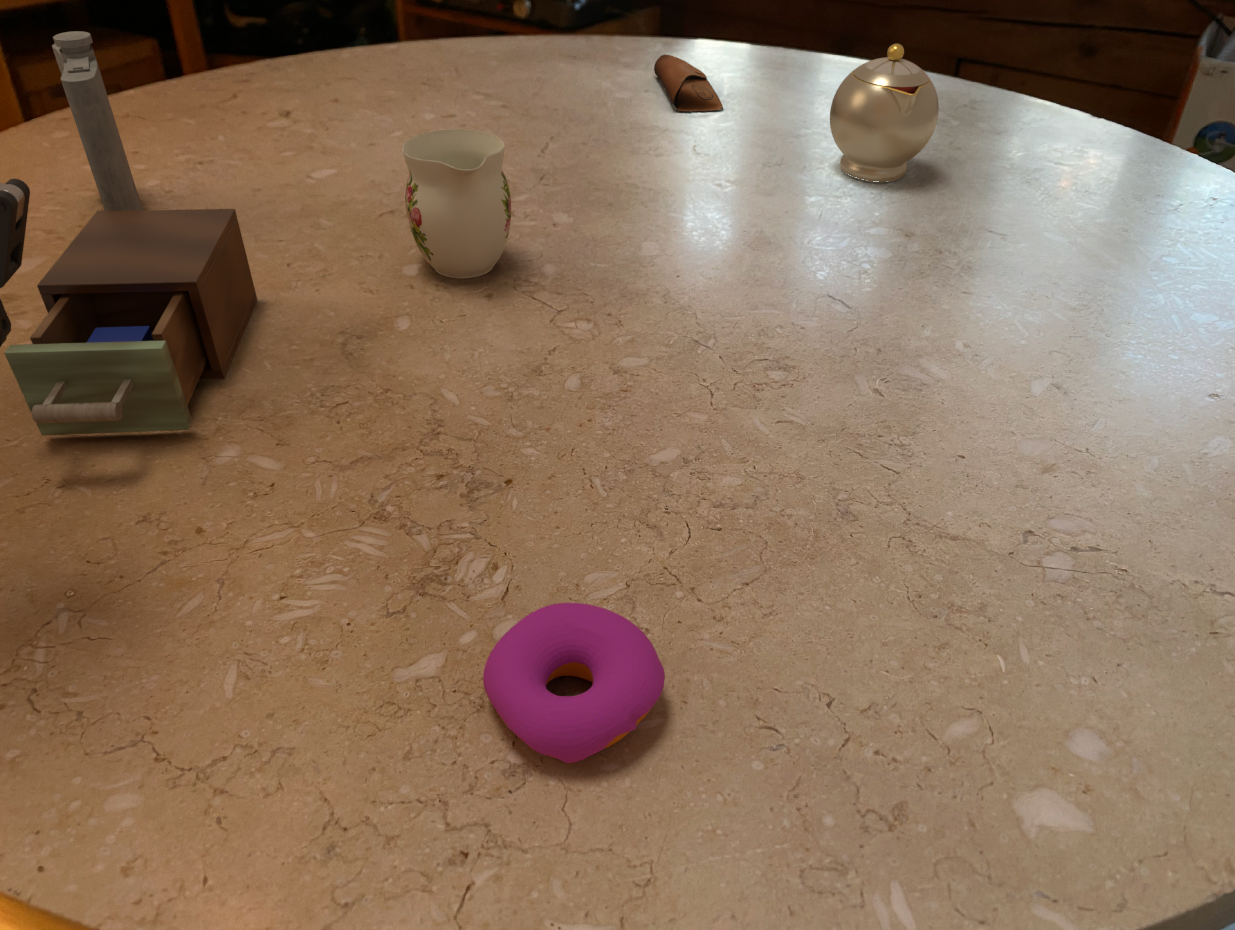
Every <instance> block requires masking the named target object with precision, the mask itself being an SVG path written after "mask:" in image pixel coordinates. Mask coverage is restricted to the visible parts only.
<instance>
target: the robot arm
mask: <svg viewBox="0 0 1235 930" xmlns="http://www.w3.org/2000/svg"><path fill="white" fill-rule="evenodd" d="M30 197H31V190H30V187H29V185H28V184H27V183H26V182H25V181H23V180H22V179H19V178H10V179H9V180H7V181H6V182H5V183H3V182H0V289H2V288H3V287H4V286H5V285H6V284H7V283H8V282H9V281H10V280H11V278H12V277H13V276H14V275H15V274H16V272H17V271H18V270H19V269H20V268H21V266H22V264H23V263H22V262H23V255H24V247H25V246H24V245H25V240H26V231H27V222H28V213H29V207H30V206H29V204H30ZM11 331H12V322H11V320H10V318H9V315H8V313H7V311H6V309H5V306H4V304H3V301H2V299H1V298H0V348H1V347H2V346H3V344H4V343H5V341H6V340H7V339H8V335H9V334H10V333H11Z"/></svg>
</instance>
